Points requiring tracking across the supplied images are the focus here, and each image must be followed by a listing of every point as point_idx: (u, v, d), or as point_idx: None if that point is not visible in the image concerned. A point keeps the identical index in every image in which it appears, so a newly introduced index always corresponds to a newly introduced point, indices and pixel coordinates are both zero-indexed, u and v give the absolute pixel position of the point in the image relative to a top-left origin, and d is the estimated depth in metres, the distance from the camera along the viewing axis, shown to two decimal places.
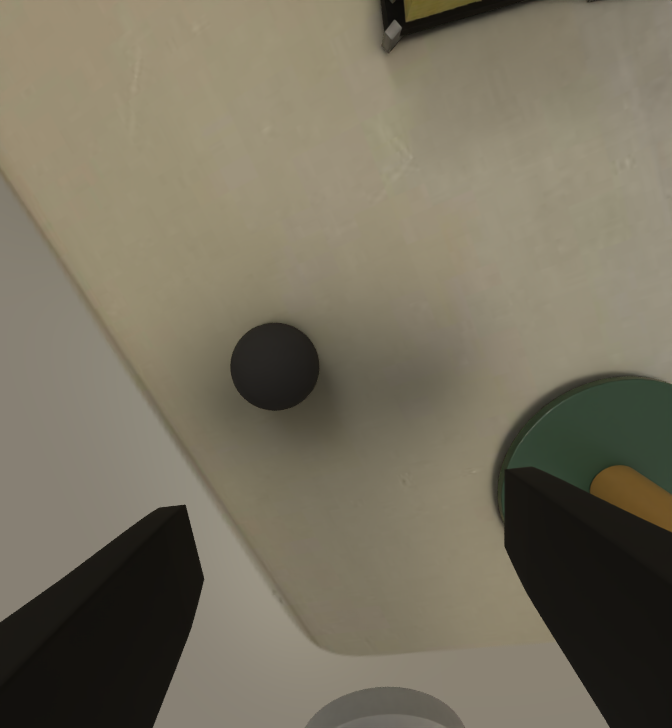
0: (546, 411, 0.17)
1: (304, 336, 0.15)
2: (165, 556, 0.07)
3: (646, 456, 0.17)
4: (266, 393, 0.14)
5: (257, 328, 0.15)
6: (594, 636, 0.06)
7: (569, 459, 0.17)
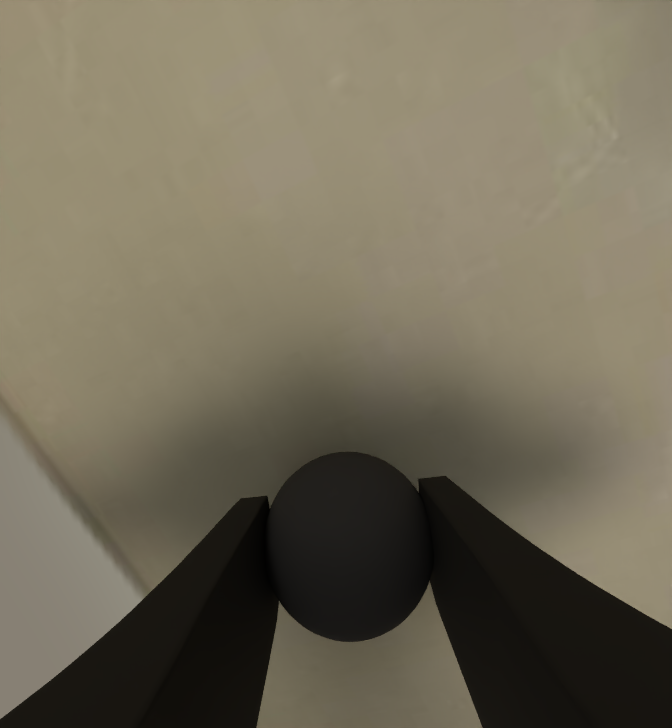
0: None
1: (409, 490, 0.07)
2: (258, 546, 0.07)
3: None
4: (345, 634, 0.07)
5: (319, 479, 0.07)
6: (472, 649, 0.06)
7: None
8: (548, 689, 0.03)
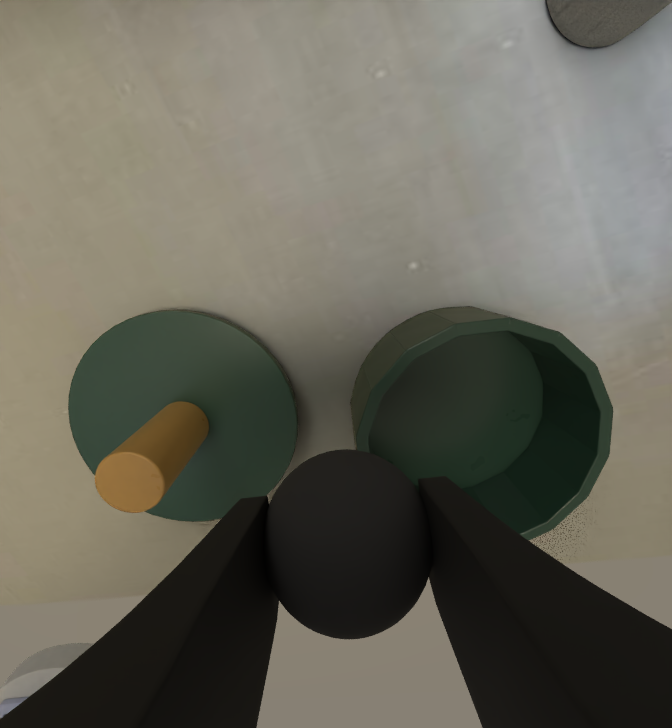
0: (92, 344, 0.17)
1: (408, 488, 0.07)
2: (258, 546, 0.07)
3: (207, 392, 0.17)
4: (343, 631, 0.07)
5: (318, 476, 0.07)
6: (473, 649, 0.06)
7: (128, 395, 0.17)
8: (548, 689, 0.03)
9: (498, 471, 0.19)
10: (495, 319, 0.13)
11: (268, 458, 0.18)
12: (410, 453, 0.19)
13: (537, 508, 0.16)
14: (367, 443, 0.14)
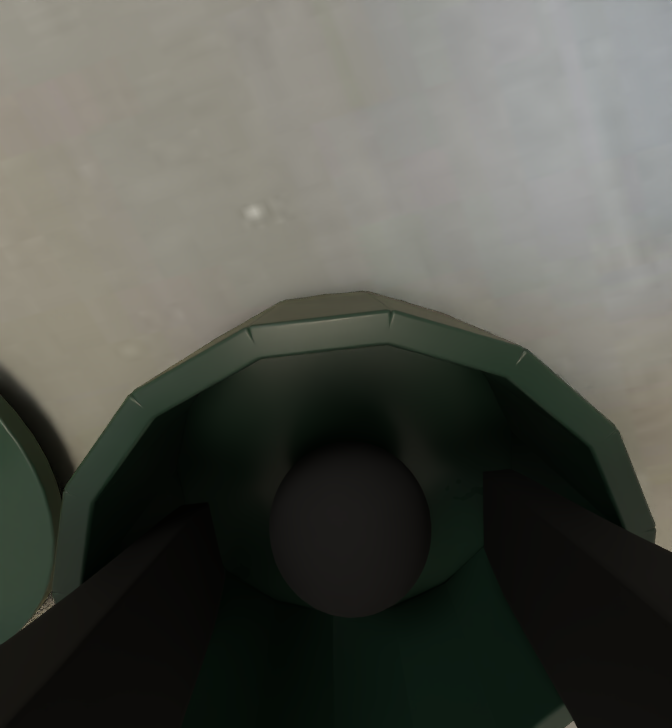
0: None
1: (408, 476, 0.08)
2: (191, 553, 0.07)
3: None
4: (348, 610, 0.07)
5: (322, 467, 0.08)
6: (563, 639, 0.06)
7: None
8: None
9: (436, 582, 0.11)
10: (353, 314, 0.05)
11: (7, 572, 0.10)
12: None
13: (492, 701, 0.08)
14: None
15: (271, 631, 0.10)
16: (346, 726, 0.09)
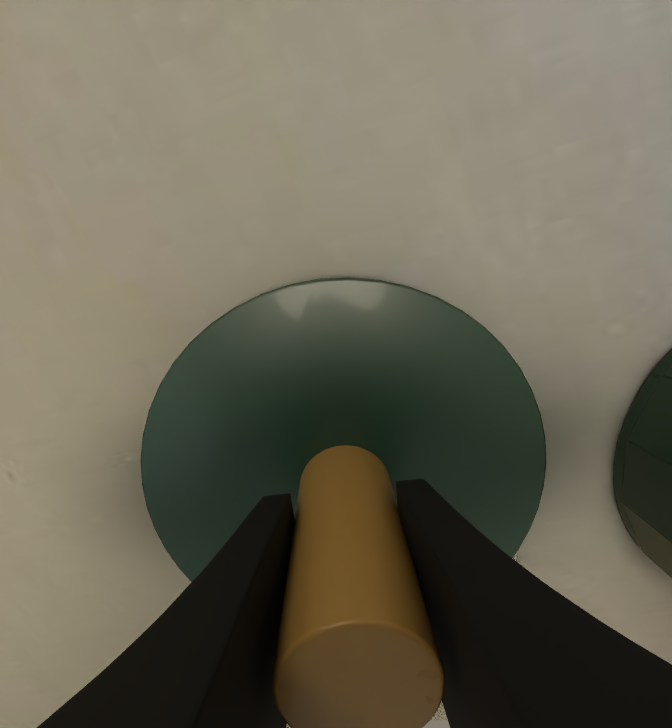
0: (190, 343, 0.09)
1: None
2: (285, 543, 0.07)
3: (393, 429, 0.10)
4: None
5: None
6: (441, 652, 0.06)
7: (251, 434, 0.10)
8: (496, 695, 0.03)
9: None
10: None
11: None
12: None
13: None
14: None
15: None
16: None
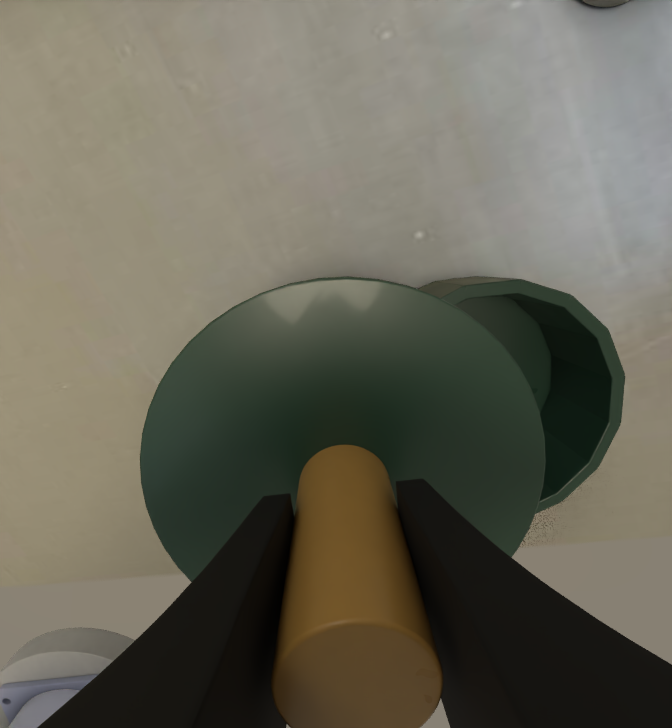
0: (189, 342, 0.09)
1: None
2: (285, 543, 0.07)
3: (392, 428, 0.10)
4: None
5: None
6: (441, 652, 0.06)
7: (250, 434, 0.10)
8: (495, 695, 0.03)
9: None
10: (505, 281, 0.13)
11: None
12: None
13: (546, 481, 0.16)
14: None
15: None
16: None
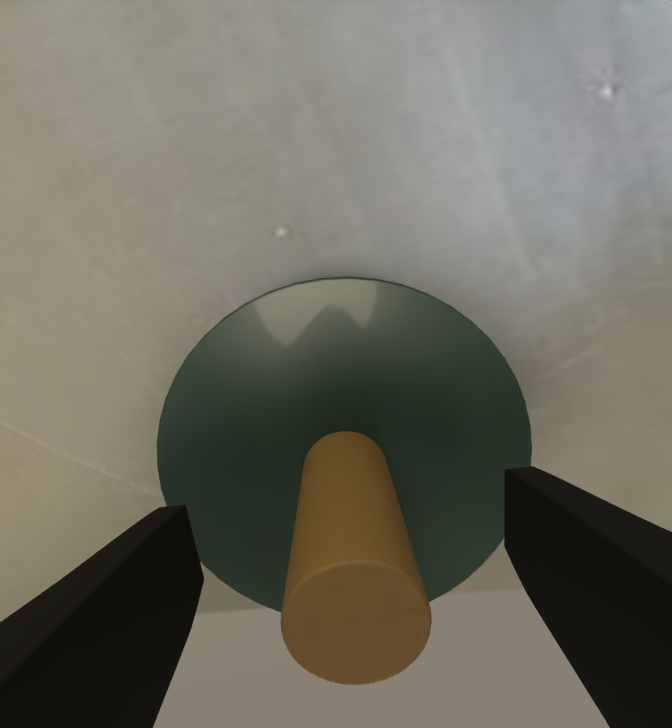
0: (204, 336, 0.10)
1: None
2: (165, 556, 0.07)
3: (389, 416, 0.10)
4: None
5: None
6: (594, 636, 0.06)
7: (259, 421, 0.10)
8: None
9: None
10: None
11: (476, 523, 0.11)
12: None
13: None
14: None
15: None
16: None
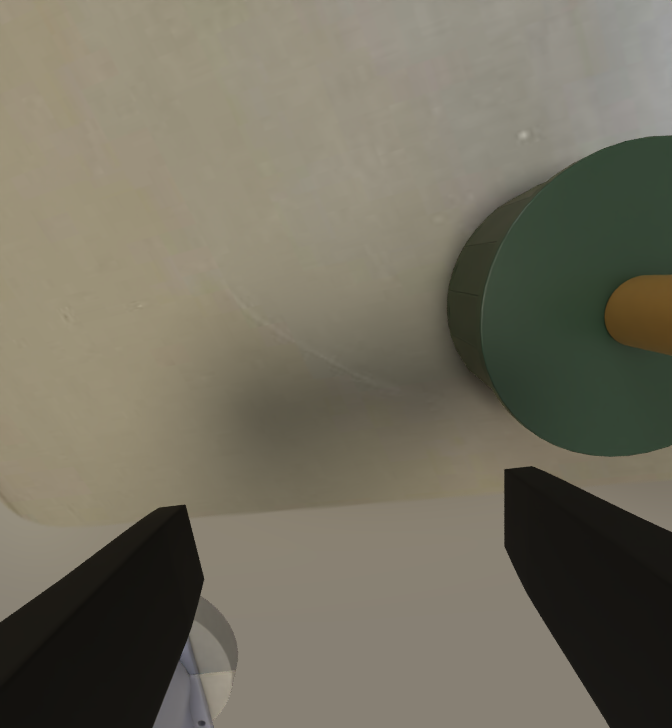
0: (540, 189, 0.12)
1: None
2: (165, 556, 0.07)
3: None
4: None
5: None
6: (594, 636, 0.06)
7: (574, 266, 0.12)
8: None
9: None
10: None
11: None
12: None
13: None
14: None
15: None
16: None
